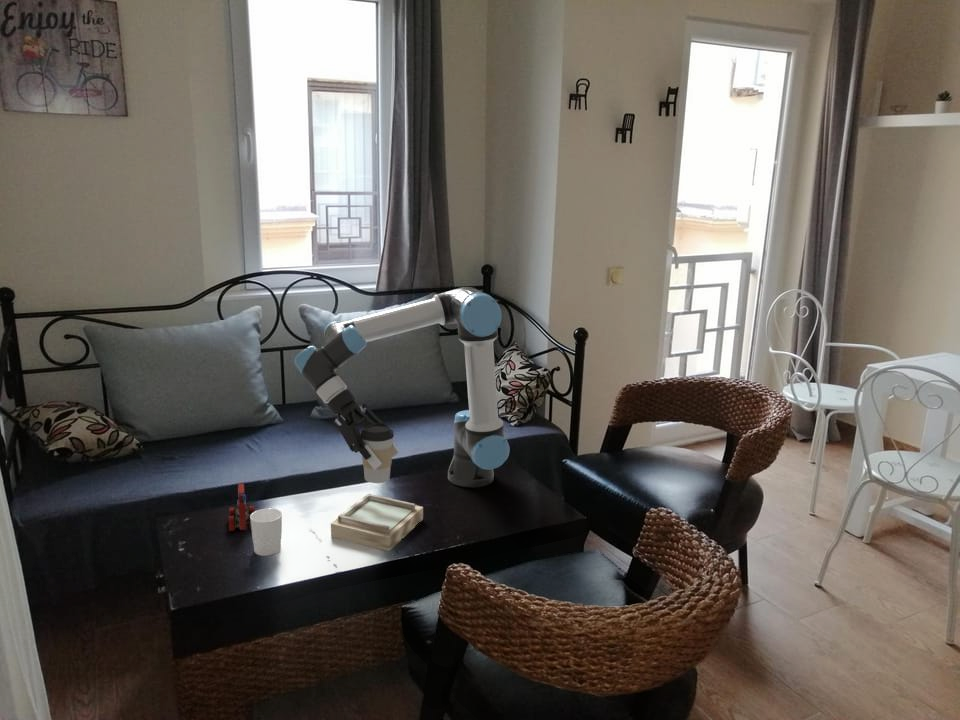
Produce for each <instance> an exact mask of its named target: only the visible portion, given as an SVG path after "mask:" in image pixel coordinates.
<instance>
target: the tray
mask: <svg viewBox="0 0 960 720" xmlns="http://www.w3.org/2000/svg"><path fill="white" fill-rule="evenodd" d="M423 520H424V507H423V506H420V505H417V504H416V503H413V502H408V501H403V500H399V499H394V498H390V497H385V496H383V495H382V496H380V495H376V494H373V493H367V494H365V495H364V496H363V497H362V498H360V499H359V500H358V501H357V502H355V503H354V504H352V505H351V506H350V507H348V508H347V509H345V510H343V512H342V513H340V514H339V515H338V516H337V518H336V519H335V520H333V521H332V522H331V523H330V537H331V538H334V537H335V539H339V540H342V539H343V541H347V542H350V543H353V544H354V543H355V544H359V545H363V546H366V547H371V548H375V549H378V550H382V551H386V552H390V551H391V550H392V549H393V548H395V546H396V545H397V544H398V543H400V542H401V541H402V540H403V539H404V538H405V537H406V536H408V535H409V533H411V531H413V530H414V528H416V527H417V526H418V525H419V524H420V523H421V522H422V521H423ZM419 522H420V523H419ZM418 523H419V524H418ZM417 524H418V525H417ZM416 525H417V526H416ZM415 526H416V527H415ZM402 538H403V539H402ZM401 539H402V540H401Z"/></svg>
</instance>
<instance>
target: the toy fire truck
mask: <svg viewBox="0 0 960 720" xmlns="http://www.w3.org/2000/svg"><path fill="white" fill-rule="evenodd" d="M237 496H238V497H237V498H238V499H237V502H236V503H237V507H236V508H235V507H230V508H228V531H229V532H235V531H236V529H237V528H239V530H240V531H243V530H246V529H247V526H246V525H248V526H249V527H248V528H249V529H250V530H251V520H250V515H251V514H252V513H253V512H255V511H256V510H255V505H249V506H247V505H246V504H247V502H246V500H247V495H246V494H245V484H244V483H238V484H237Z"/></svg>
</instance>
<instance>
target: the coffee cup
mask: <svg viewBox="0 0 960 720" xmlns="http://www.w3.org/2000/svg"><path fill="white" fill-rule="evenodd" d="M360 434H361V437H362V439H363V442H364V445H365V446H366V445H368V446H369V448H370V449H371V450H372V451H373V453H374V454H375V455H376V456H377V458H378V459H379V460H380V462H381V463H382V464H381V465H380V466H379V467H378V468H377V469H375V470H374V469H373V468H372V466H371V465H370V464H369V462H368V461H367V460H366V459H365V458H364V457H363V456H362V455H361V458H362V465H363V475H364V480H365V481H366V482H367V483H371V484H383V483H387V482H388V481H389V480H390V477H391V466H392V464H393V463H392V462H393V461H392V460H393V458H392V451H393V444H394V442H393V441H394V436H395V433H394V430H392V429H391V428H390V427H389V426H388V425H387V424H386V423H385V422H383V423H376V424H373V425H368V426H366V427H364V429H362V430H361V431H360ZM365 446H364V447H365Z"/></svg>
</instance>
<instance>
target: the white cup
mask: <svg viewBox="0 0 960 720" xmlns="http://www.w3.org/2000/svg"><path fill="white" fill-rule="evenodd" d="M282 518H283V515H282V511H281V510H279V509H277V508H272V507H271V508H269V507H268V508H261V509H257V510H255V512H253V513H252V514H251V515H250V520H251V529H250V531H251V538H252V543H253V551H254V553H255V554H256V555H257V556H261V557H264V556H265V557H266V556H267V557H269V556H273V555H275V554H278V553H279V552H280V551H281V549H282V547H281V546H282V528H283V527H282V524H283V523H282V522H283V519H282Z"/></svg>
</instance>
